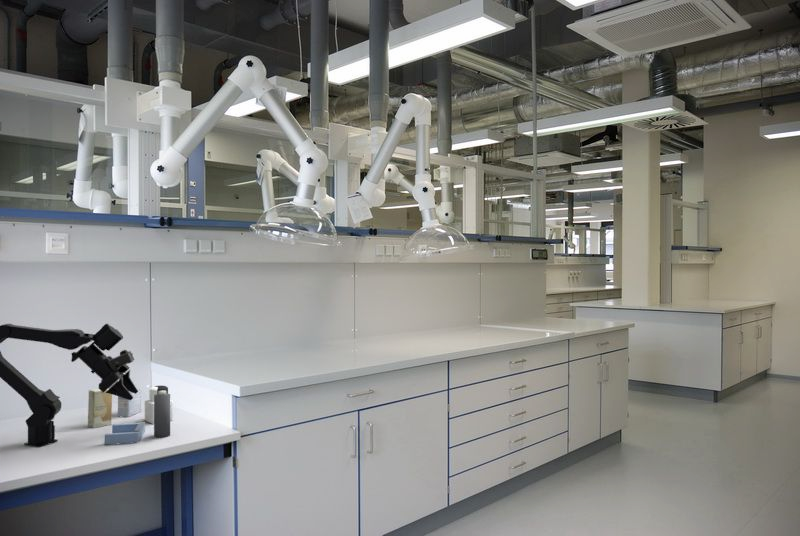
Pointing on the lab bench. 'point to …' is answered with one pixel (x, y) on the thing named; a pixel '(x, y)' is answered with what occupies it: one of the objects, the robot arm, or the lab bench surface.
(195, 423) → the lab bench surface
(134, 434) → the socket cradle
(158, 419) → the grey cylindrical bottle
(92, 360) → the robot arm
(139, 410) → the medicine box
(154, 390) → the medicine bottle
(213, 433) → the lab bench surface
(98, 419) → the skincare box
